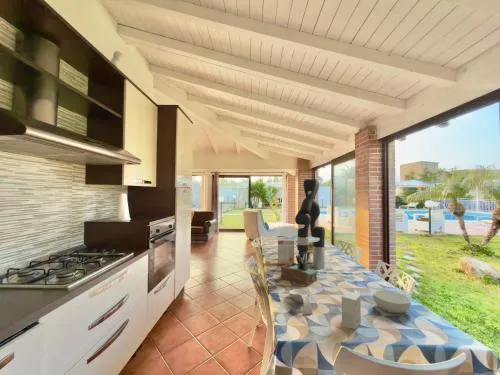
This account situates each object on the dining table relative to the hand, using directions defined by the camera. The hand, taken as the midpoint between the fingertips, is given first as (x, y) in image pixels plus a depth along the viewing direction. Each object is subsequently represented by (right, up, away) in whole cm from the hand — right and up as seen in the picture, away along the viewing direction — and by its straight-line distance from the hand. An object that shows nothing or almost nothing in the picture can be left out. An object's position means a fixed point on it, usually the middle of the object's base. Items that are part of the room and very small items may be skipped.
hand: (302, 268), depth 164 cm
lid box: (-2, -9, +2) cm, 9 cm away
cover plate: (0, -2, 0) cm, 2 cm away
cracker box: (-6, -10, +40) cm, 41 cm away
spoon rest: (-8, -8, -34) cm, 36 cm away
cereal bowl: (+38, -8, -40) cm, 55 cm away
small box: (+11, -8, -54) cm, 55 cm away
